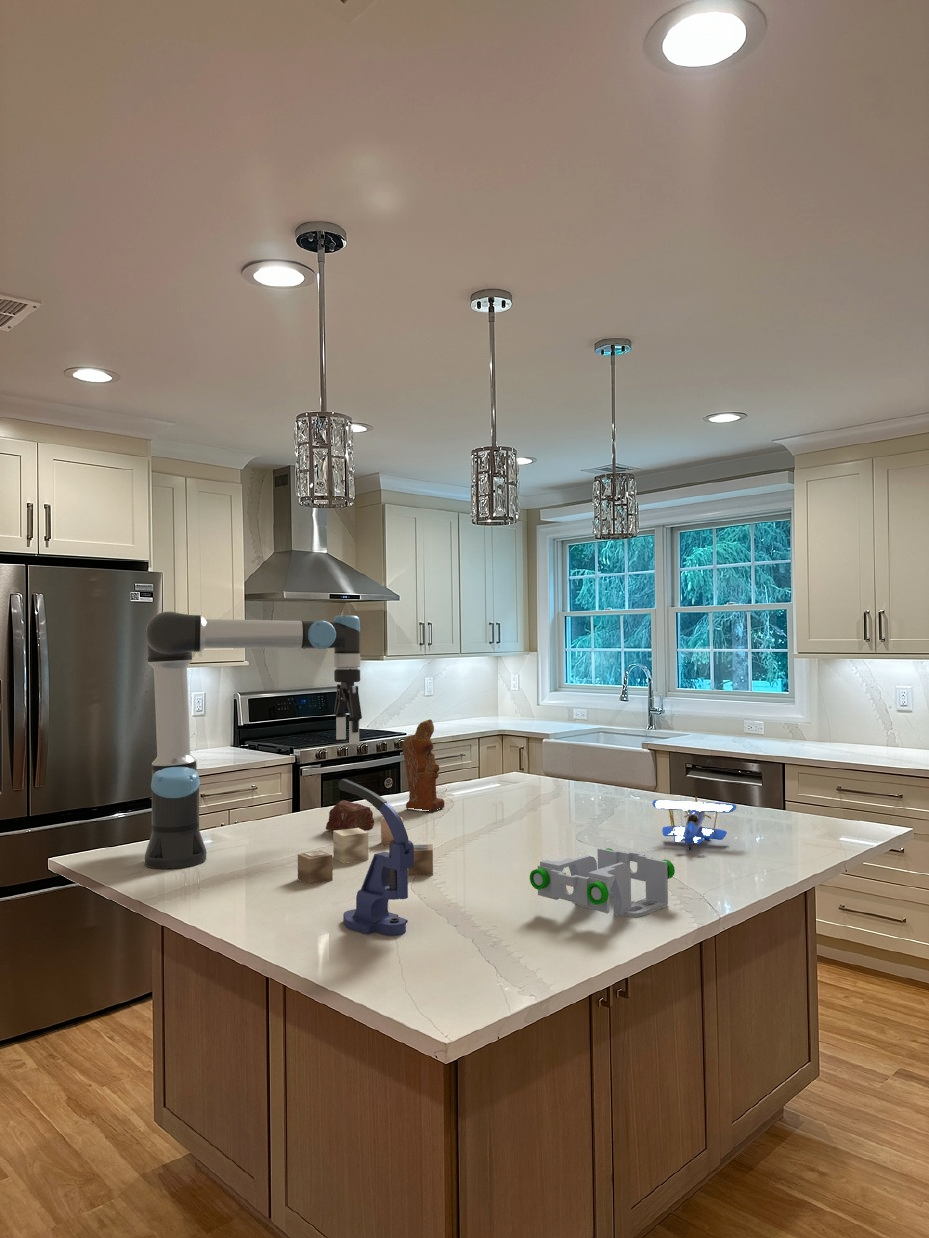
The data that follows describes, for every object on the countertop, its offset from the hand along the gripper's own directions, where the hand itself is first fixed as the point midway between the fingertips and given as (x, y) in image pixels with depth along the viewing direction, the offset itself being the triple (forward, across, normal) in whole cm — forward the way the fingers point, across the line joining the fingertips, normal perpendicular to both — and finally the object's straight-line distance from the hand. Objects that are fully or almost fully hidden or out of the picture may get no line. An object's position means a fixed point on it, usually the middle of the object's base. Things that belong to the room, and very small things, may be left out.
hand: (347, 741), depth 251 cm
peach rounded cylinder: (+27, -14, -8) cm, 32 cm away
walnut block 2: (+27, -46, -5) cm, 54 cm away
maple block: (+27, -26, +7) cm, 38 cm away
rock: (+28, +3, -1) cm, 28 cm away
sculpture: (+27, +27, -34) cm, 52 cm away
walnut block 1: (+27, -42, +20) cm, 54 cm away
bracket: (+27, -90, -29) cm, 98 cm away
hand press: (+27, -80, +18) cm, 86 cm away
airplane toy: (+27, -53, -82) cm, 101 cm away
